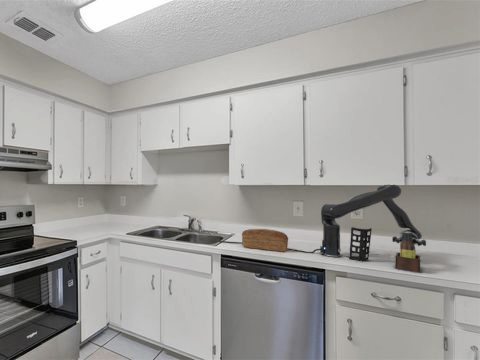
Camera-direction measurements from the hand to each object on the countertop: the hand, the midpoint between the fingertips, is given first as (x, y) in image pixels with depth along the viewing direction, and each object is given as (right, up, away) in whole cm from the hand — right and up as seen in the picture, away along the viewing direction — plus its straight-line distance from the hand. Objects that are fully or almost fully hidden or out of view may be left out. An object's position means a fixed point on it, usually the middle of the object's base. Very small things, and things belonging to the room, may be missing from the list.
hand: (408, 242), depth 150 cm
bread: (-67, -13, +38) cm, 78 cm away
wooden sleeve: (-5, -13, -5) cm, 15 cm away
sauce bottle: (-5, -13, -5) cm, 15 cm away
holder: (-19, -13, +11) cm, 25 cm away
